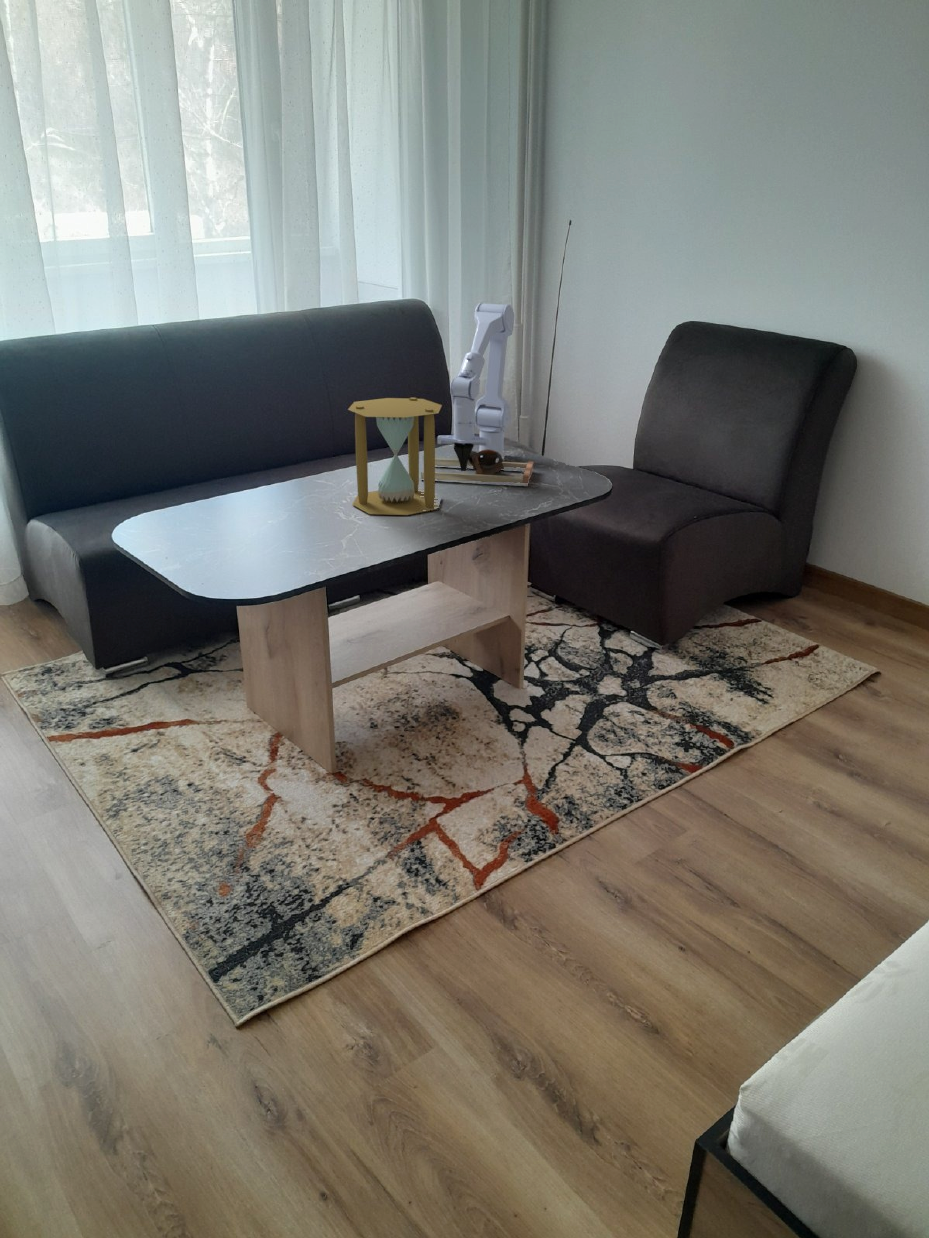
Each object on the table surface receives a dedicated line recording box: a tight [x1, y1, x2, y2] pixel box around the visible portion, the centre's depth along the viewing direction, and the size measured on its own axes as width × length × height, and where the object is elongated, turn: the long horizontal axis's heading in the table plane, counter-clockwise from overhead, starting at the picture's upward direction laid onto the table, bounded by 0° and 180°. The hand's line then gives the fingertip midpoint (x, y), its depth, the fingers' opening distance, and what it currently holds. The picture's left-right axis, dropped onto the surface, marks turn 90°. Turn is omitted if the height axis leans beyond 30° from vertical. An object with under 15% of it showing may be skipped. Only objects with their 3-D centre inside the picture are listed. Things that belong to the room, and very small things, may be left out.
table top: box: [420, 457, 534, 483], centre depth 262 cm, size 15×30×3 cm, turn 81°
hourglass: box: [347, 397, 443, 516], centre depth 235 cm, size 24×22×25 cm
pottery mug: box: [468, 449, 505, 475], centre depth 263 cm, size 12×10×8 cm
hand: (463, 470), depth 262 cm, fingers closed
